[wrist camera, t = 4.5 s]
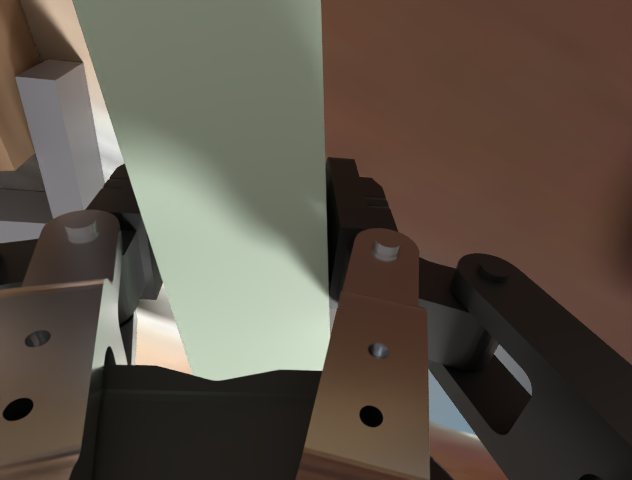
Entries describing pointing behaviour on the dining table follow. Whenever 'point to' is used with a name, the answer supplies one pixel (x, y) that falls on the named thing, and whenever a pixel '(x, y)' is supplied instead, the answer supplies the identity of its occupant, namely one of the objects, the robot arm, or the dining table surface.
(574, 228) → the dining table surface
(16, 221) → the frame
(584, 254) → the dining table surface
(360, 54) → the dining table surface
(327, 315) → the sage slat
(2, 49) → the walnut slat
